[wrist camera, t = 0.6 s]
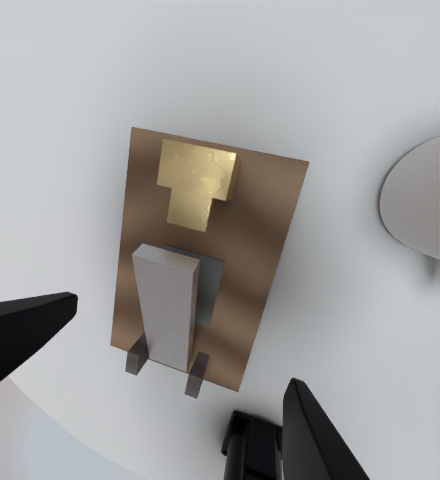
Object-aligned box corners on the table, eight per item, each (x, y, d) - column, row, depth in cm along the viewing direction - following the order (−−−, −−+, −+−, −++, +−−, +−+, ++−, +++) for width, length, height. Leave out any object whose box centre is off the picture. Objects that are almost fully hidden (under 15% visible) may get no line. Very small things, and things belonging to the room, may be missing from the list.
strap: (191, 359, 21) (186, 372, 20) (155, 347, 22) (149, 358, 21) (200, 259, 13) (193, 272, 12) (142, 243, 14) (131, 254, 13)
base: (239, 382, 23) (234, 420, 19) (117, 338, 25) (91, 364, 21) (306, 164, 17) (319, 155, 13) (139, 131, 19) (108, 114, 15)
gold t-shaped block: (226, 228, 18) (217, 236, 14) (171, 214, 18) (152, 219, 15) (241, 161, 16) (236, 153, 13) (182, 149, 17) (163, 138, 14)
